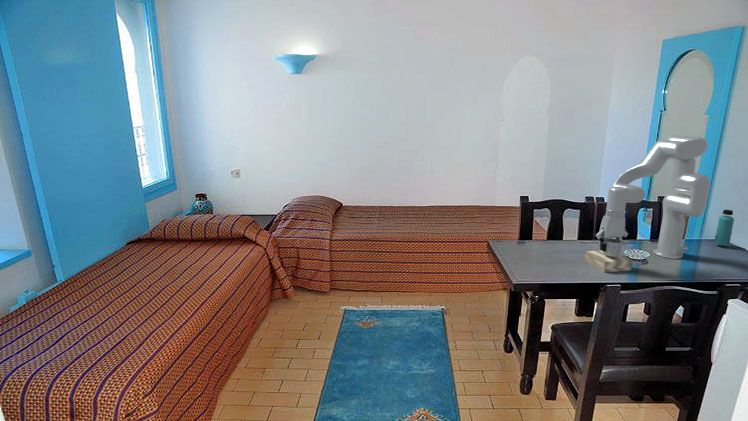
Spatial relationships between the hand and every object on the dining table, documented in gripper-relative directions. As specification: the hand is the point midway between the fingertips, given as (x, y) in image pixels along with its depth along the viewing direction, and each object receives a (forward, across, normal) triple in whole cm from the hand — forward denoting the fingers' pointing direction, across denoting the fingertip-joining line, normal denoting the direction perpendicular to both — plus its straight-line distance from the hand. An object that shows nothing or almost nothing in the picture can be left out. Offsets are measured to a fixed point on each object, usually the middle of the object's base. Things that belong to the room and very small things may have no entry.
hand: (609, 249), depth 203 cm
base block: (+8, 0, 0) cm, 8 cm away
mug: (+2, +1, 0) cm, 2 cm away
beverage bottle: (+8, -78, -14) cm, 80 cm away
